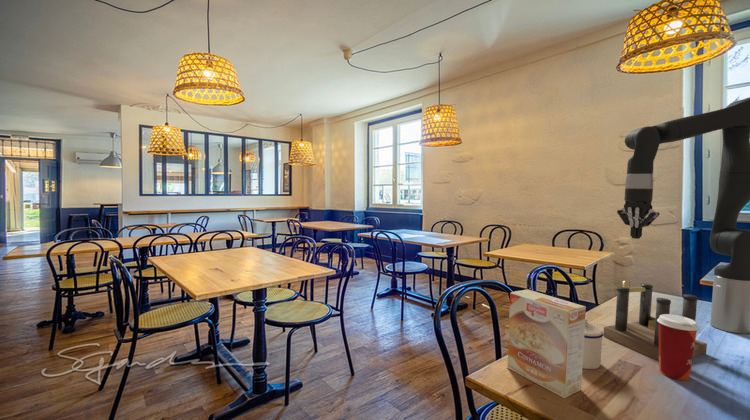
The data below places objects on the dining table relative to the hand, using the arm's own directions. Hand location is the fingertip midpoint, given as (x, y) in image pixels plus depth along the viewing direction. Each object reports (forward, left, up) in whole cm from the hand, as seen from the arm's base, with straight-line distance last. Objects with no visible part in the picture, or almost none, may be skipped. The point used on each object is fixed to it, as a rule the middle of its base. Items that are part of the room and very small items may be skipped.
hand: (635, 238), depth 117 cm
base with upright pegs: (+13, +15, -29) cm, 35 cm away
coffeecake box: (+58, +20, -29) cm, 68 cm away
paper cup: (+25, +28, -29) cm, 48 cm away
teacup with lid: (+42, +15, -29) cm, 53 cm away
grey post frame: (+11, +9, -26) cm, 29 cm away
